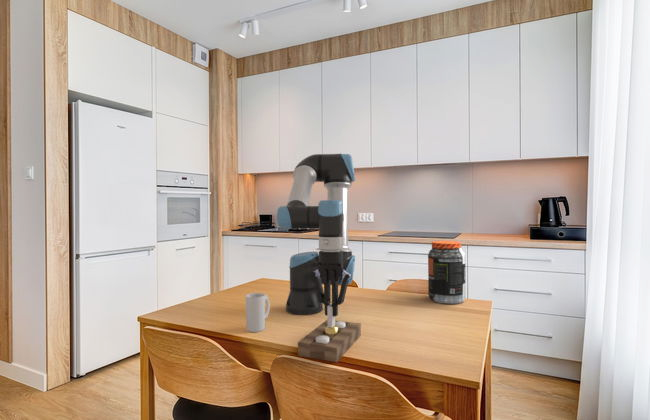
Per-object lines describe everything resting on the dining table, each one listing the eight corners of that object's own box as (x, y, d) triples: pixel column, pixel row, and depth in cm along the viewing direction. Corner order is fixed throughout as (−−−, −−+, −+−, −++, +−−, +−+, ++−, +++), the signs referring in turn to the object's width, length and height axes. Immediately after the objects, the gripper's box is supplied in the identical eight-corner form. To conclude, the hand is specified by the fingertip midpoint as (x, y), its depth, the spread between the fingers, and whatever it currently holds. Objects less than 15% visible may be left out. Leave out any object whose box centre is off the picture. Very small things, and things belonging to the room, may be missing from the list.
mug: (254, 334, 128) (254, 298, 128) (241, 330, 132) (241, 295, 132) (276, 326, 136) (275, 292, 136) (263, 322, 140) (262, 290, 140)
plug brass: (323, 340, 117) (323, 327, 117) (328, 336, 120) (327, 323, 120) (335, 342, 115) (335, 329, 115) (339, 338, 119) (339, 325, 119)
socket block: (336, 362, 105) (336, 347, 105) (298, 355, 110) (298, 341, 110) (360, 335, 126) (360, 323, 126) (327, 330, 130) (327, 319, 130)
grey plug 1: (313, 352, 110) (313, 339, 110) (319, 347, 114) (319, 334, 114) (326, 355, 109) (326, 341, 109) (331, 349, 113) (331, 336, 112)
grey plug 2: (331, 336, 123) (331, 324, 123) (336, 332, 127) (336, 320, 127) (343, 338, 122) (343, 325, 122) (347, 334, 125) (347, 322, 125)
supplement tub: (473, 301, 166) (473, 242, 166) (450, 307, 158) (450, 244, 157) (443, 293, 180) (443, 239, 179) (420, 299, 171) (420, 241, 170)
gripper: (306, 250, 116) (307, 327, 117) (346, 252, 111) (347, 332, 112) (316, 247, 123) (317, 320, 124) (354, 249, 118) (355, 324, 119)
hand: (331, 326), depth 118 cm, fingers closed
